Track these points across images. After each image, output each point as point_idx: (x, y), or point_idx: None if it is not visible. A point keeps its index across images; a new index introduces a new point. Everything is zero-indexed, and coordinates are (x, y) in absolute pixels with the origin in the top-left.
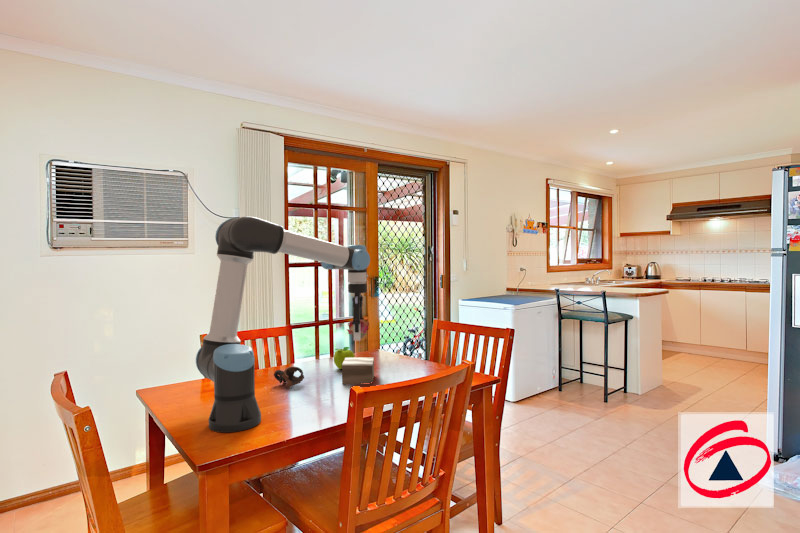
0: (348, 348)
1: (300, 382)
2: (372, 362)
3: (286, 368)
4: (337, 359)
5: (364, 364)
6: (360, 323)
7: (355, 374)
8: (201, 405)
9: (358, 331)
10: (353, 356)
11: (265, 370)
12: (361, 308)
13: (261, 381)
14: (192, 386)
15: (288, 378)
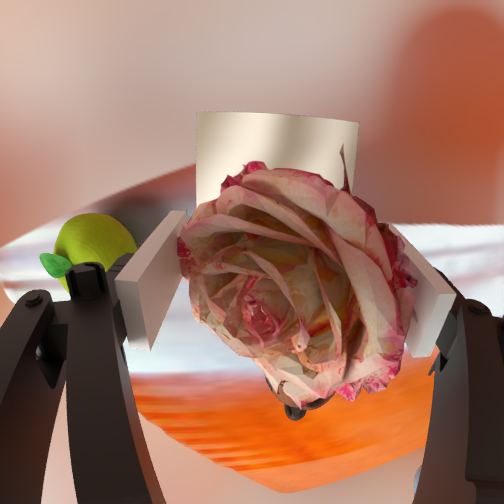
0: (60, 257)
1: None
2: (322, 119)
3: (308, 409)
4: None
5: (354, 162)
6: (403, 295)
7: None
8: (387, 440)
9: (440, 271)
10: (97, 221)
11: (158, 416)
12: (97, 447)
13: (255, 416)
14: (276, 472)
15: None
